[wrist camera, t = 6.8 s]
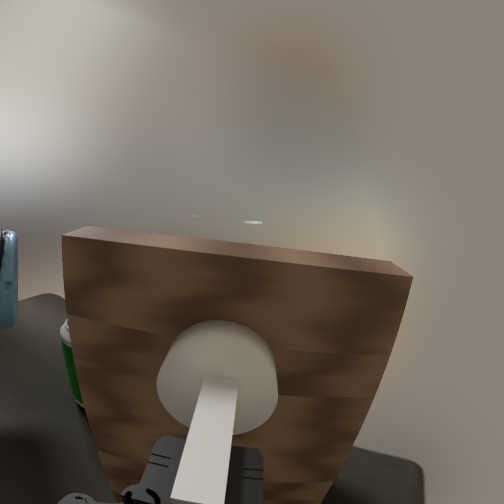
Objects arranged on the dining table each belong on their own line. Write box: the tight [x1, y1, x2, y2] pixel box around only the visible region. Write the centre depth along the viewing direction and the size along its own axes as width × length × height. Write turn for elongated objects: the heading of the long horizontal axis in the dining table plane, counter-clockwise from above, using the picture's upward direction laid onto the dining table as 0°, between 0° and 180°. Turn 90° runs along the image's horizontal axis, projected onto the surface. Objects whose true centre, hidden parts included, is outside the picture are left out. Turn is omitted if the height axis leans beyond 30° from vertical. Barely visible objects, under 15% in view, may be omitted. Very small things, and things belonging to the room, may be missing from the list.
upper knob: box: [157, 320, 278, 435], centre depth 17 cm, size 6×8×6 cm
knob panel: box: [62, 226, 413, 504], centre depth 22 cm, size 18×11×26 cm, turn 89°
